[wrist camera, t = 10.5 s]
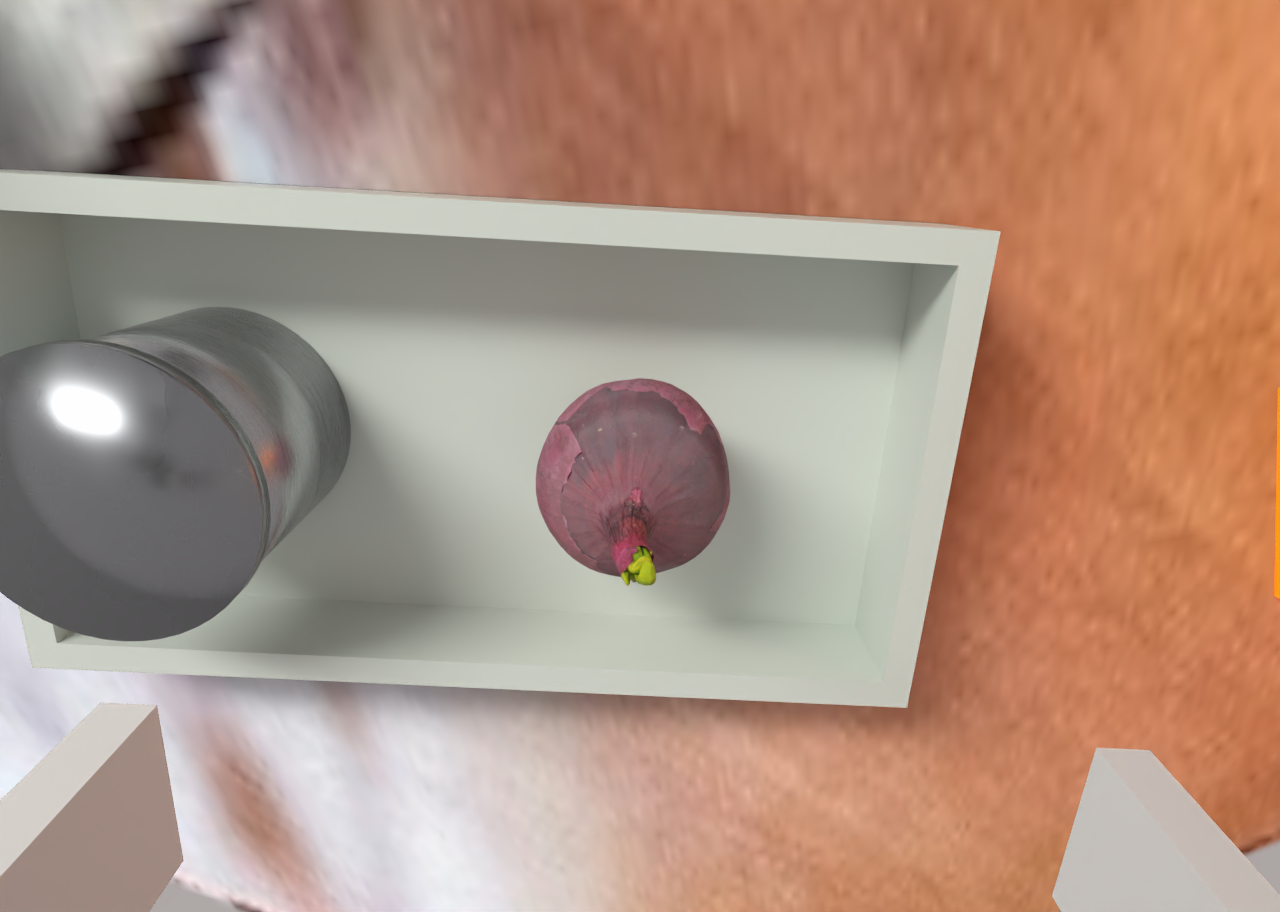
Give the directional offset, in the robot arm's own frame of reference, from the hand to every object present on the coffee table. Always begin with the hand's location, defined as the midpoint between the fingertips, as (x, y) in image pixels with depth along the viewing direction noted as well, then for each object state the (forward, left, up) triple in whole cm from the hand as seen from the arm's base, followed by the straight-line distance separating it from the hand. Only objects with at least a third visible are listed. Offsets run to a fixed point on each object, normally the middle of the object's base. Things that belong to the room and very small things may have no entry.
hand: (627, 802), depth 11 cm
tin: (0, -14, -18) cm, 23 cm away
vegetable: (0, 0, -18) cm, 18 cm away
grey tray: (0, -5, -19) cm, 19 cm away
